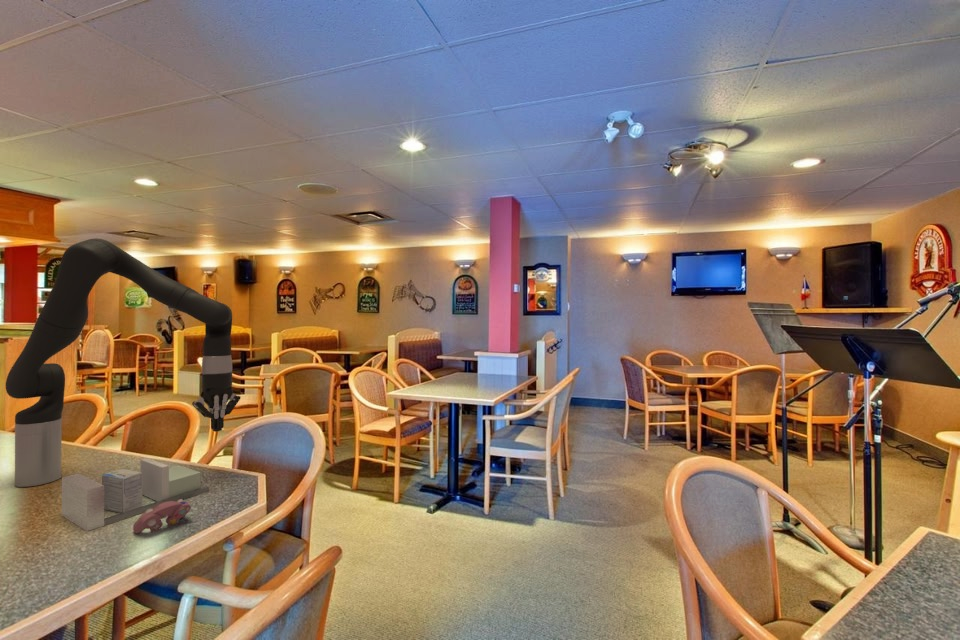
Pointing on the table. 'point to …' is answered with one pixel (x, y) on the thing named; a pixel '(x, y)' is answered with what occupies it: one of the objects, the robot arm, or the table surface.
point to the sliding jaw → (167, 480)
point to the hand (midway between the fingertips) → (217, 430)
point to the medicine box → (122, 490)
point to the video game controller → (162, 515)
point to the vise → (99, 502)
